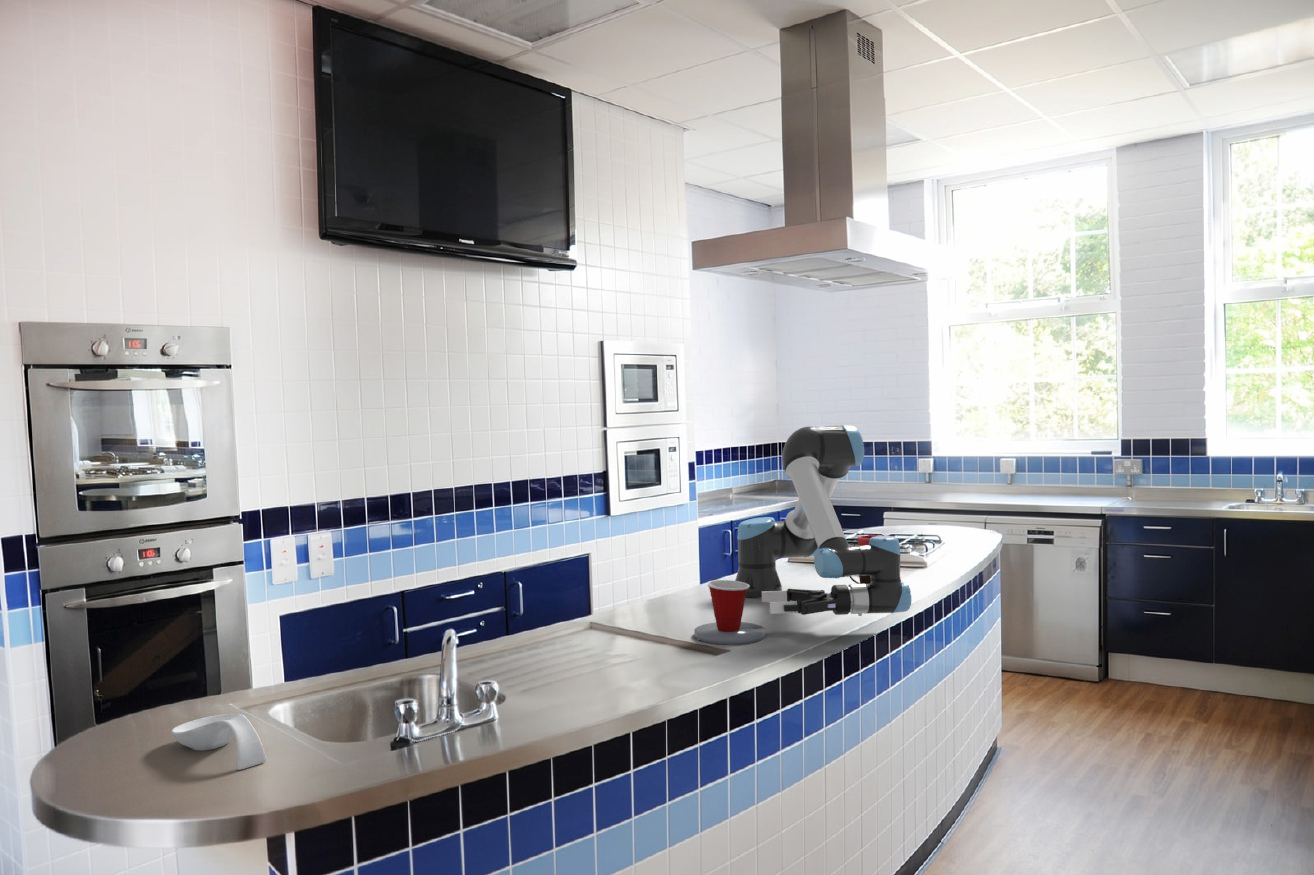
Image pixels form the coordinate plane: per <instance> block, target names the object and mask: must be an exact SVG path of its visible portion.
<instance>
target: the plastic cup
mask: <svg viewBox="0 0 1314 875" xmlns="http://www.w3.org/2000/svg"><path fill="white" fill-rule="evenodd" d="M707 587H708V588H709V593H710V597H711V603H712V609H713V614H714V620H715V623H716V625H717V628H718V630H719V631H723V632H734V631H738V630H740V626H741V622H742V618H743V614H744V606H745V600H746V599H745V598H747V597H746V593H747V590H748V588H749V587H750V586H749V584H746V583H743V582H739V581H735V580H731V579H730V580H727V579H715V580H709V581H708V582H707Z"/></svg>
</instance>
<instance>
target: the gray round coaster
mask: <svg viewBox="0 0 1314 875" xmlns="http://www.w3.org/2000/svg"><path fill="white" fill-rule="evenodd" d="M693 634H694V639H696V640H697V639H699V640H701V641H700V642H702V641H704V642H703V643H706V642H708V643H707V644H711V643H712V644H711V645H721V644H737V645H746V644H747V645H748V644H753V643H756V641H757V642H759V640H760V641H762V640H764V639H765V637H766V628H765V627H764V626H762V625H759V624H756V623H751V622H744V621H743V622H742V621H741V626H740V630H738V631H734V632H723V631H719V630H718V628H717V625H716V622H710V623H709V622H708V623H705V624H702V625H701V624H700V625H698V626H696V627H695V628H694V633H693ZM761 639H762V640H761ZM699 640H698V641H699ZM752 642H753V643H752Z"/></svg>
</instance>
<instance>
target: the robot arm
mask: <svg viewBox="0 0 1314 875" xmlns="http://www.w3.org/2000/svg"><path fill="white" fill-rule="evenodd" d="M783 446H784V447H783V449H782V452H781V454H782V455H781V456H782V457H781V458H782V459H781V461H782V463H781V464H782V467H783V471H784V474H785V476H786V477H787V479H789V480H791V481H792V483H793V486H794V489H795V491H796V494H797V497H798V500H797V502H796V505H795V508H794V509H793V510H790V511H789V512H788V513H787V514H786V515H785V519H784V520H777V521H776V520H775V518H774V517H772V516H771V517H770V516H764V517H754V518H750V519H746V520H743V521H741V522H740V523H739V524H738V527H737V536H736V538H737V553H738V554H737V558H738V559H737V560H738V562H737V563H738V570H737V573H736V576H735V580H734V581H739V582H743V583H746V584H749V586H750V587H749V588H748V590H747V593H746V597H745V598H761V603H769V614H770V615H773V614H776V615H777V614H796V613H797V614H800V615H802V616H805V615H810V614H818V613H822V612H823V613H824V612H832V613H833V614H834V615H837V616H838V615H839V616H841V615H842V616H843V615H845V616H846V615H849V614H851V615H858V616H859V617H862V616H863V614H894V613H905V612H908V611H909V610H910V608H911V607H912V594H911V593H912V592H911V588H910V586H909V584H908V583H907V582H902V579H901V556H902V555H901V548H900V547H901V546H900V541H899V539H898V538H897V537H896V536H894V537H892V535H886V536H875V537H871V538H870V540H869V545H865V546H858V545H856V546H850V545H849V542H848V540H847V538H846V536H845V533H844V530H843V529H842V525H841V523H840V521H839V518H838V516H837V514H836V511H835V509H834V505H833V503H832V502H831V498H832V495H833V494H834V492H835V488H836V487H837V485H838V483H839V480H841V479H843V478H844V477H845V476H847V475H848V473H849V471H850V469H851V467H857V466H861V465H862V463H863V462H864V458H865V445H864V440H863V436H862V434H861V432H860V430H859V429H858V428H857V427H856V426H854V425H845V424H842V425H841V424H840V425H823V426H822V425H819V426H810V425H809V426H803V427H801V428H798V429H797V430H795V431H794V432H792V433H791V435H789V437H788V438H787V440H786V441H785V443H784V445H783ZM812 556H813V563H814V569H815V571H816V574H817V575H818V576H819V577H820V578H823V579H840V578H848V577H849V578H850V576H851V577H859V576H866V575H870V580H871V584H857V583H852V584H851V583H849V584H848V585H847V584H833V585H832V586H831V589H830V593H828V592H826V591H825V589H821V590H819V589H817V590H816V589H801V588H800V589H799V588H798V589H797V588H787V590H783V587H782V582H781V580H780V576H779V574H778V571H777V566H776V565H777V564H776V560H778V559H790V558H791V559H792V558H793V559H794V558H809V557H812Z"/></svg>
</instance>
